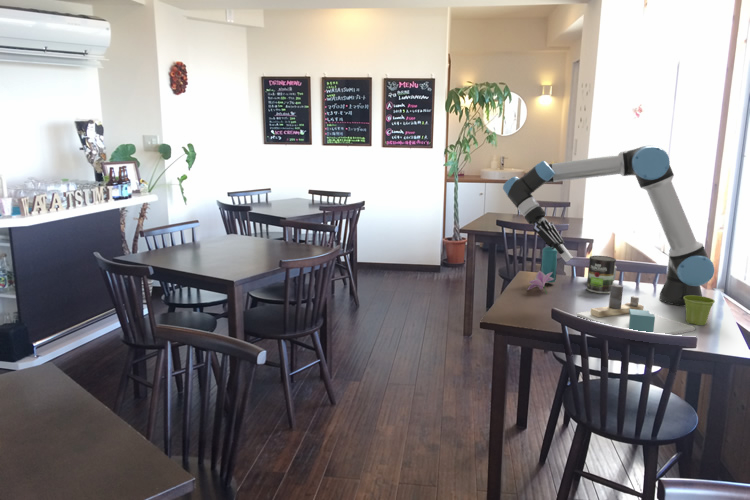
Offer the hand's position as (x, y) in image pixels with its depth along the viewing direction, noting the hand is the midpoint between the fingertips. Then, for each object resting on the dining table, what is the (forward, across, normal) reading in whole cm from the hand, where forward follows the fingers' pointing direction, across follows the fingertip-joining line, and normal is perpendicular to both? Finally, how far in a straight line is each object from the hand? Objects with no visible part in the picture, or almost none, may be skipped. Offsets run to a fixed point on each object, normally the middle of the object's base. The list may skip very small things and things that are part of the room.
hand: (569, 259), depth 207 cm
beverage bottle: (-1, -26, -27) cm, 38 cm away
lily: (+1, -11, -24) cm, 27 cm away
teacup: (+9, -47, -17) cm, 51 cm away
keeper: (+33, +8, +9) cm, 35 cm away
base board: (+31, +2, +6) cm, 32 cm away
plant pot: (+42, -14, +16) cm, 47 cm away
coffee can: (+13, -32, -13) cm, 37 cm away
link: (+25, -1, +2) cm, 25 cm away
